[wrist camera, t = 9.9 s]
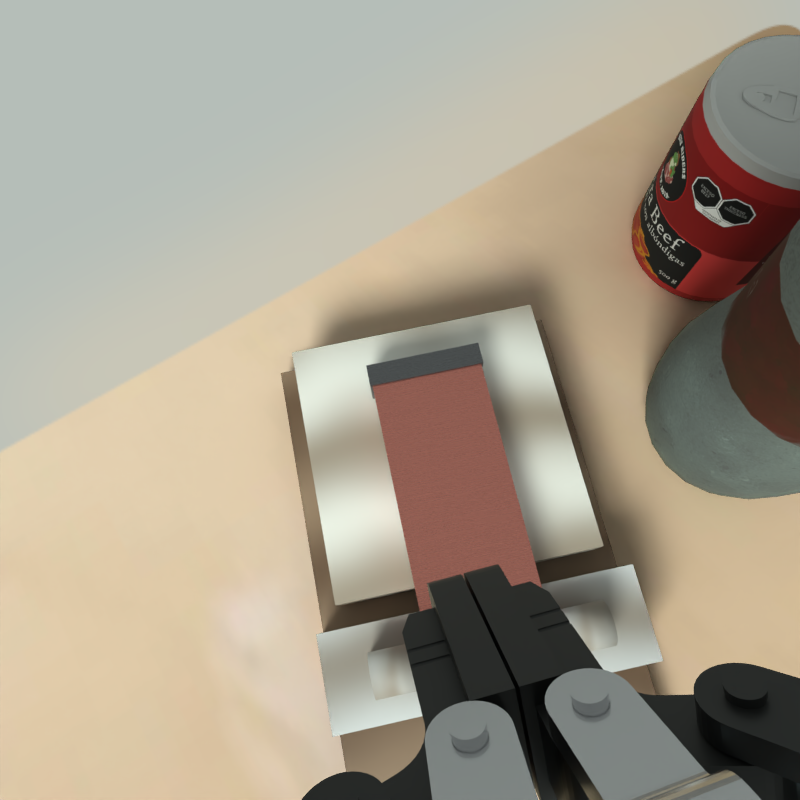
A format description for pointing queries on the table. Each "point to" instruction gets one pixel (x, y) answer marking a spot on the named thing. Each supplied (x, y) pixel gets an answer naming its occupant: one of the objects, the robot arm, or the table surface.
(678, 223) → the canned food
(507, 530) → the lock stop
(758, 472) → the bottle
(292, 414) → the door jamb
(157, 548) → the table surface
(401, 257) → the table surface
